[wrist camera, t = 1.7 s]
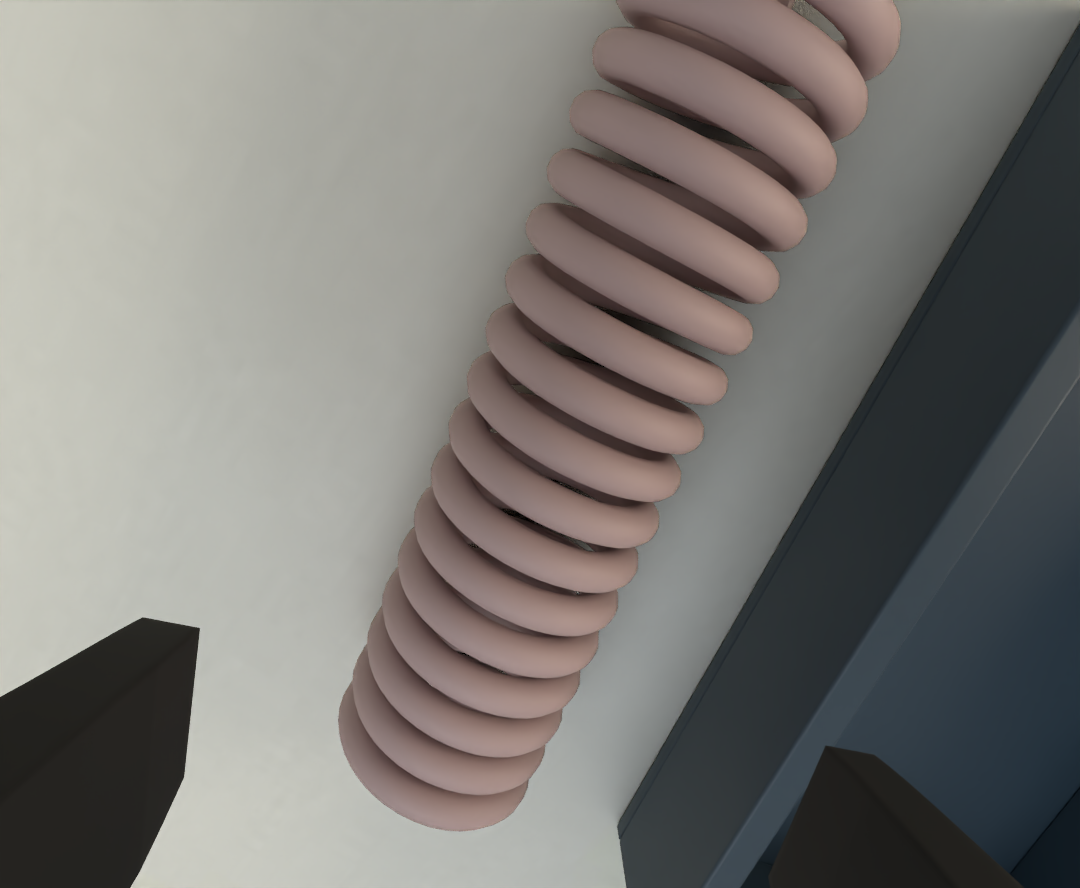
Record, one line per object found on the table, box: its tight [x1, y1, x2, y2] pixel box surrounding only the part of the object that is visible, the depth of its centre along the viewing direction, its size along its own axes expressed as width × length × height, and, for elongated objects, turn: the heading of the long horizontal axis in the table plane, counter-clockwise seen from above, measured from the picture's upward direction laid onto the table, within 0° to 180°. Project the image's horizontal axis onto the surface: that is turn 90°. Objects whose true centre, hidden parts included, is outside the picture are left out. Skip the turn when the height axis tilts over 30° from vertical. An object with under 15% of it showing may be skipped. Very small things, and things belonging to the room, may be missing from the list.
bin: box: [617, 25, 1080, 888], centre depth 17 cm, size 12×22×4 cm, turn 157°
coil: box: [338, 0, 901, 831], centre depth 15 cm, size 5×5×18 cm
